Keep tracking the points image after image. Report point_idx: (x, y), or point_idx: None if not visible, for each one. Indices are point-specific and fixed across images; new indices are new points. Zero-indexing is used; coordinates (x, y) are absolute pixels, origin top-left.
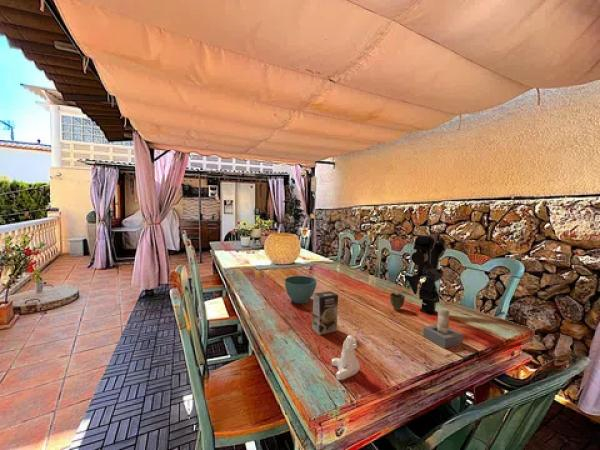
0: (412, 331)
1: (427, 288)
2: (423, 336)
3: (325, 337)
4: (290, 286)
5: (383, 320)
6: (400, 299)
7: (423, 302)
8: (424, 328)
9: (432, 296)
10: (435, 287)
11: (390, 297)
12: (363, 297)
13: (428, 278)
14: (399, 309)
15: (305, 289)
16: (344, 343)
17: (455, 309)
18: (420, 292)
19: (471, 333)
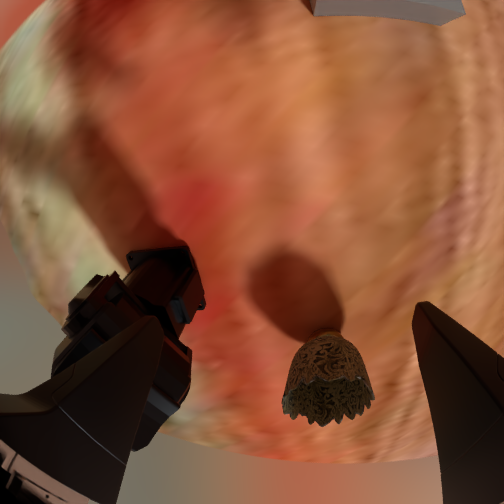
0: (457, 88)
1: (153, 374)
2: (440, 23)
3: None
4: None
5: (488, 246)
6: (344, 369)
7: (180, 321)
8: (462, 9)
9: (123, 306)
10: (59, 359)
11: (362, 398)
12: (354, 429)
13: (89, 487)
14: (325, 330)
15: None
16: None
17: (48, 263)
18: (189, 380)
19: (135, 5)
